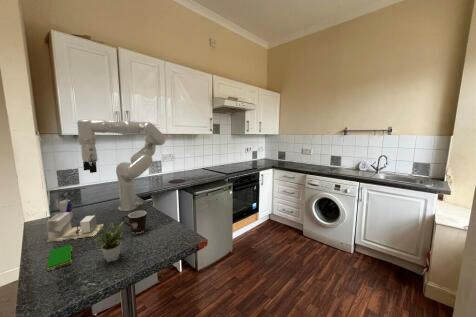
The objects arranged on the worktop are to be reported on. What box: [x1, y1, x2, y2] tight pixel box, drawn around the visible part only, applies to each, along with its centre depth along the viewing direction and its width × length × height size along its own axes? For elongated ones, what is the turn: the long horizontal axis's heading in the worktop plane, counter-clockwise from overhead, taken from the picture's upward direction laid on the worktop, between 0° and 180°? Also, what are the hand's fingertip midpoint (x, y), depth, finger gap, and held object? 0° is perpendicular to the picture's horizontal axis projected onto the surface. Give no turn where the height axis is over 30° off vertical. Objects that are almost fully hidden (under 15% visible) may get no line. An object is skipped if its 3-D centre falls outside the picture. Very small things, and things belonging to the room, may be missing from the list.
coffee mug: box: [121, 210, 147, 233], centre depth 107 cm, size 12×9×10 cm
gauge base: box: [46, 212, 104, 243], centre depth 104 cm, size 20×12×10 cm, turn 105°
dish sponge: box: [46, 244, 73, 270], centre depth 85 cm, size 7×14×2 cm, turn 38°
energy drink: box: [58, 199, 74, 221], centre depth 118 cm, size 5×5×12 cm
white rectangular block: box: [79, 215, 98, 234], centre depth 105 cm, size 4×10×6 cm, turn 15°
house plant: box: [92, 220, 126, 259], centre depth 84 cm, size 14×14×16 cm
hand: (90, 171), depth 117 cm, fingers open, 9 cm apart
